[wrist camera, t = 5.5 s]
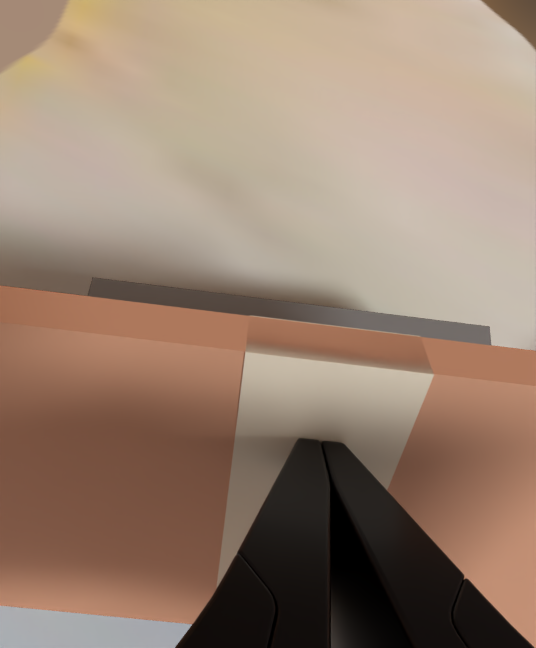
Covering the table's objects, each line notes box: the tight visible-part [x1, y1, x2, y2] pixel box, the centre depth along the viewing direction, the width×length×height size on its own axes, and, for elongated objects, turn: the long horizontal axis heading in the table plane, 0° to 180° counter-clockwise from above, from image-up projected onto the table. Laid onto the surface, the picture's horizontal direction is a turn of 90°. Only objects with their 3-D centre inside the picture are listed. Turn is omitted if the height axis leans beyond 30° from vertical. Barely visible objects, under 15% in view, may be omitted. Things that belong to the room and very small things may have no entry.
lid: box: [0, 286, 536, 648], centre depth 11 cm, size 9×14×1 cm
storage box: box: [88, 278, 491, 345], centre depth 18 cm, size 9×14×5 cm, turn 85°
